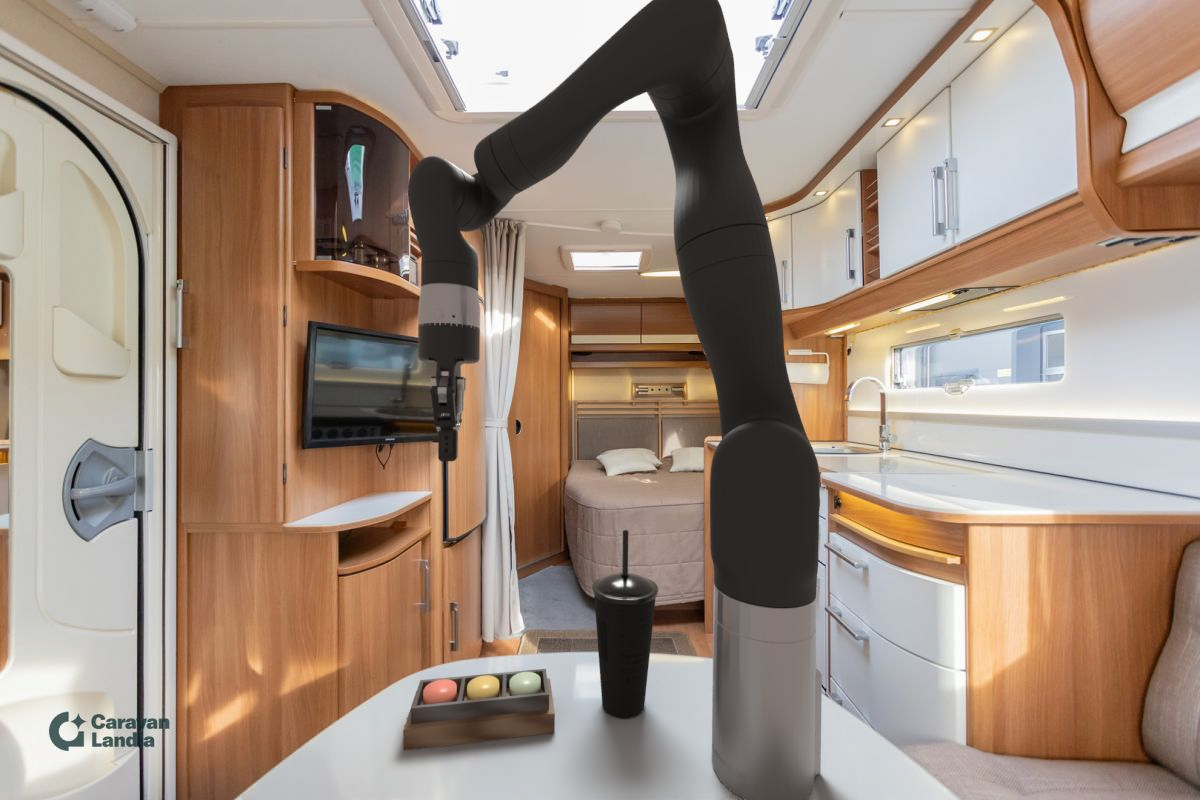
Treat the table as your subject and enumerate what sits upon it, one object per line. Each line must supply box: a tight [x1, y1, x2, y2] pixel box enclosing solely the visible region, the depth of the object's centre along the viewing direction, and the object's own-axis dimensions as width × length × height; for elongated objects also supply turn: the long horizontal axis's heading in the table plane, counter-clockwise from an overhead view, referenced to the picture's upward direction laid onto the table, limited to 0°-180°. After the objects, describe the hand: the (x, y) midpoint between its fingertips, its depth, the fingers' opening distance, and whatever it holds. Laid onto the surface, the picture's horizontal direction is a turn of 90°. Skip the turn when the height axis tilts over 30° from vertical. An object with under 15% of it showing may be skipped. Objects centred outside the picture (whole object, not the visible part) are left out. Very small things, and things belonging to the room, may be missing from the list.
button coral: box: [423, 679, 457, 705], centre depth 51 cm, size 3×3×2 cm
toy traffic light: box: [402, 668, 556, 751], centre depth 52 cm, size 15×6×4 cm, turn 101°
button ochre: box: [467, 675, 499, 700], centre depth 52 cm, size 3×3×2 cm
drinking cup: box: [591, 529, 659, 720], centre depth 54 cm, size 8×8×20 cm
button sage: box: [509, 672, 541, 696], centre depth 52 cm, size 3×3×2 cm
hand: (448, 460), depth 61 cm, fingers closed
